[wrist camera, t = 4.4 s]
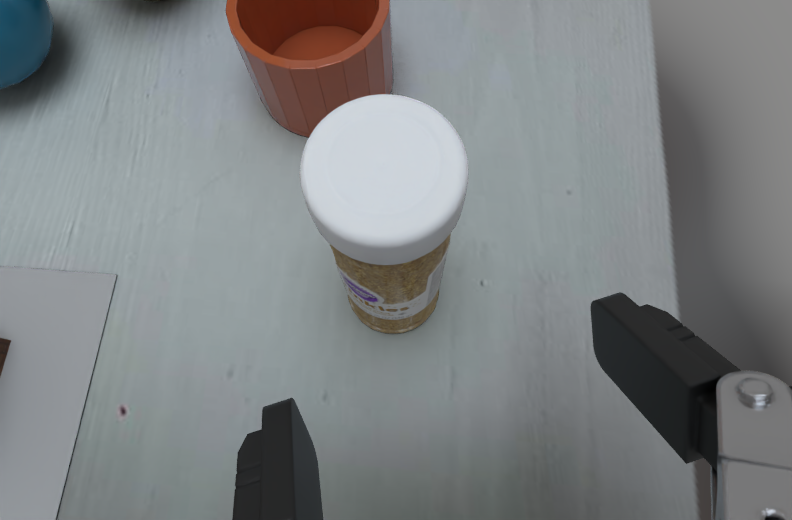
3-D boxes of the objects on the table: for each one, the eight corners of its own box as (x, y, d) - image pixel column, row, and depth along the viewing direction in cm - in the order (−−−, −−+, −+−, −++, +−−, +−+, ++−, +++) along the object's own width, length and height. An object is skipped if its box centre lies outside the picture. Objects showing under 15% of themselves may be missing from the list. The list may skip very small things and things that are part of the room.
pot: (371, 11, 32) (363, -80, 26) (410, 117, 30) (410, 42, 24) (246, 45, 32) (211, -41, 26) (277, 155, 29) (245, 88, 24)
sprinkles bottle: (335, 317, 26) (267, 210, 14) (368, 235, 28) (334, 67, 15) (423, 348, 26) (438, 268, 13) (452, 263, 27) (493, 114, 14)
